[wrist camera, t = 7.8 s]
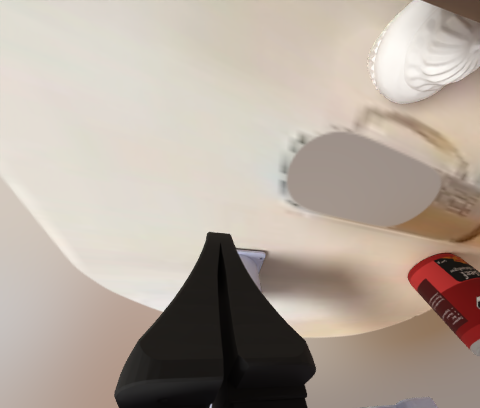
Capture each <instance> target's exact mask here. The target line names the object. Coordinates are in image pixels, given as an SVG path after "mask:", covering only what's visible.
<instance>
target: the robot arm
mask: <svg viewBox="0 0 480 408" xmlns="http://www.w3.org/2000/svg"><path fill="white" fill-rule="evenodd" d="M265 256H266V255H265V252H261V251H249V250H236V247H235V245H234V243H233V240H232V237H231V235H230V234H225V233H214V232H209V233H207V237H206V242H205V245H204V247H203V250H202V252H201V254H200V257H199V259H198V261H197V263H196V265H195V266H194V268H193V270H192V272H191V274H190V275H189V277H188V279H187V280H186V282H185V283H184V285H183V286H182V288H181V289H180V291H179V292H178V293H177V295H176V296H175V298H174V299H173V300H172V302H171V303H170V304H169V306H168V307H167V308H166V309H165V310H164V312H163V313H162V314H161V315H160V317H159V318H158V319H157V320H156V322H155V323H154V324H153V325H152V326H151V327H150V328H149V329H148V330H147V331H146V333H145V334H144V335H143V336H142V337H141V338H140V339H139V341H138V342H137V344H136V345H135V347H134V349H133V351H132V352H131V354H130V356H129V358H128V359H127V361H126V363H125V365H124V367H123V370H122V372H121V374H120V377H119V380H118V384H117V387H116V390H115V394H114V396H115V399H116V402H117V404H118V406H119V408H307V405H306V401H305V398H306V397H307V393H306V389H305V385H304V384H305V383H306V382H307V381H308V380H309V379H311V378H312V376H313V375H314V374H315V372H316V367H315V364H314V361H313V358H312V355H311V353H310V350H309V348H308V346H307V344H306V341H305V340H304V339H303V338H302V337H301V336H300V335H299V334H298V333H297V332H296V331H295V330H294V329H293V328H292V327H291V326H290V325H289V324H288V323H287V322H286V321H285V320H284V319H283V318H282V317H281V316H280V315H279V314H278V312H277V311H276V310H275V309H274V308H273V306H272V305H271V304H270V303H269V302H268V300H267V299H266V298H265V297H264V295H263V294H262V290H261V285H260V280H259V275H258V274H259V272H260V269H261V267H262V264H263V261H264V259H265ZM362 408H438V407H437V406H436V404H435V403H434V401H433V399H432V398H430V397H419V398H409V399H405V400H402V401H400V402H398V403H396V405H387V406H374V407H362Z"/></svg>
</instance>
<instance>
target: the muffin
mask: <svg viewBox="0 0 480 408" xmlns="http://www.w3.org/2000/svg"><path fill="white" fill-rule="evenodd" d="M367 65H368V67H367V69H368V72H369V75H370V78H371V80H372V83H373V84H374V85H375V88H376V90H379V92H380V94H383V95H384V96H385V97H386V98H387V99H388V100H390V101H392V102H394V103H398V104H408V103H414V102H418V101H421V100H424V99H426V98H428V97H430V96H432V95H434V94H435V93H437V92H438V91H439V90H441V89H442V88H443V87H444V86H446V85H447V84H449V83H454V82H457V81H459V80H461V79H463V78H465V77H466V76H467V75H469V74H471V73H472V72H474V71H475V70H477V69H478V68H479V67H480V23H478V22H476V21H473V20H471V19H468V18H466V17H463V16H460V15H458V14H455V13H453V12H450V11H447V10H445V9H442V8H440V7H437V6H434V5H432V4H429V3H427V2H424V1H421V0H413V1H412V2H410V3H409V4H408V5H407V6H406V7H405V8H404V9H403V10H402V11H401V12H400V13H399V14H397V15H396V16H395V17H394V18H393V20H392V21H391V22H389V23H388V25H387V26H386V27H385V29H384V30H383V32H382V33H381V34H380V36H379V37H378V38H377V40H376V41H375V43H374V44H373V46H372V48H371V50H370V53H369V57H368V62H367Z"/></svg>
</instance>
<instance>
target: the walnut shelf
mask: <svg viewBox="0 0 480 408" xmlns="http://www.w3.org/2000/svg"><path fill="white" fill-rule="evenodd" d="M421 1H424V2H427V3H429V4H432V5H434V6H437V7H440V8H442V9H445V10H447V11H450V12H453V13H455V14H458V15H460V16H463V17H466V18H468V19H471V20H473V21H476V22H478V23H480V0H421Z"/></svg>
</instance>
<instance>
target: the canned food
mask: <svg viewBox="0 0 480 408" xmlns="http://www.w3.org/2000/svg"><path fill="white" fill-rule="evenodd" d="M408 280H409V282H410V284H411V285H412V286H413V287H414V289H415V290H416V291H417V292H418V293H419V294H420V295H421V296H422V297H423V299H424V300H425V301H426V302H427V303H428V304H429V305H430V306H431V307H432V309H433V310H434V311H435V312H436V313H437V314H438V315H439V316H440V317H441V319H442V320H443V321H444V322H445V323H446V324H447V325H448V326H449V327H450V328H451V330H452V331H453V332H454V333H455V334H456V335H457V336H458V337H459V338H460V339H461V341H462V342H463V343H464V344H465V345H466V346H467V347H468V348H469V349H470V350H471V351H472V352H473V353H474V354H475V355H477V356H480V272H478V271H477V270H476V269H474V268H473V267H472V266H470V265H469V264H468V263H467V262H465V261H464V260H463V259H461V258H460V257H458V256H455V255H453V254H450V253H442V254H437V255H433V256H431V257H428V258H426V259H424V260H422V261H421V262H419V263H418V264H416V265H415V266H414V267H413V268H412V269H411V270H410V272H409V274H408Z"/></svg>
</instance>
